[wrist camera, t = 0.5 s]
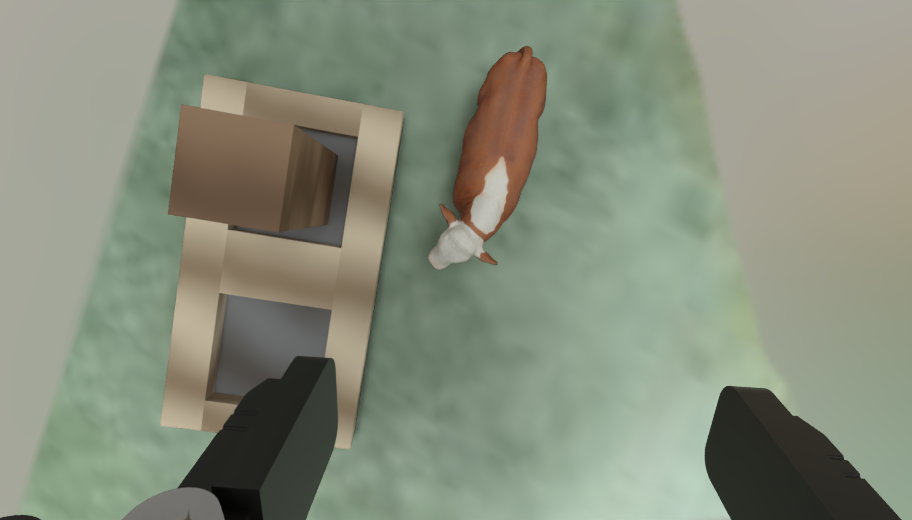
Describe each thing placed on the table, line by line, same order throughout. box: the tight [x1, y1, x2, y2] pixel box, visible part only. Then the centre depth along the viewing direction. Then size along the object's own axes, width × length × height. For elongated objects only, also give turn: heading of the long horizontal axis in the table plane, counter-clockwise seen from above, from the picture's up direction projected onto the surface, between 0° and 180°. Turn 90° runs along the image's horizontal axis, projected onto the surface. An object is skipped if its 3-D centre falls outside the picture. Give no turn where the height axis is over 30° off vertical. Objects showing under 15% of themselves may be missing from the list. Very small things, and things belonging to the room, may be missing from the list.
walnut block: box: [168, 104, 338, 232], centre depth 27 cm, size 4×4×12 cm
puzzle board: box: [160, 74, 404, 449], centre depth 33 cm, size 22×12×2 cm, turn 170°
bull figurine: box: [428, 46, 547, 270], centre depth 31 cm, size 4×13×8 cm, turn 159°
